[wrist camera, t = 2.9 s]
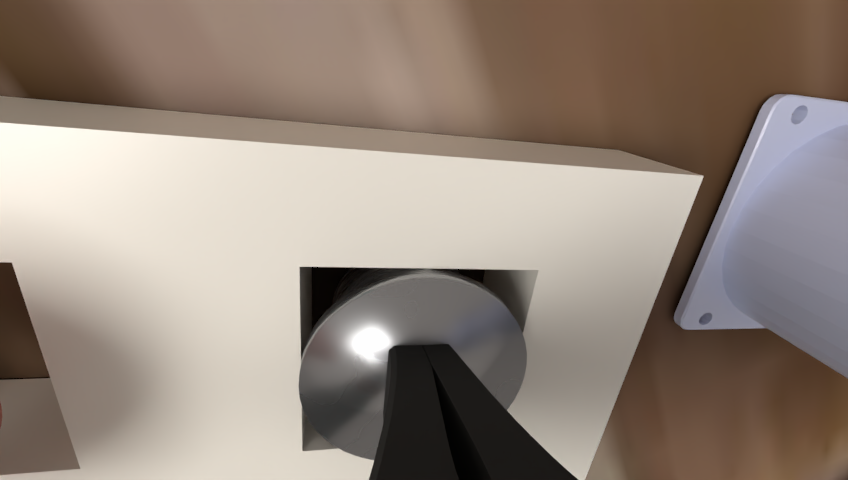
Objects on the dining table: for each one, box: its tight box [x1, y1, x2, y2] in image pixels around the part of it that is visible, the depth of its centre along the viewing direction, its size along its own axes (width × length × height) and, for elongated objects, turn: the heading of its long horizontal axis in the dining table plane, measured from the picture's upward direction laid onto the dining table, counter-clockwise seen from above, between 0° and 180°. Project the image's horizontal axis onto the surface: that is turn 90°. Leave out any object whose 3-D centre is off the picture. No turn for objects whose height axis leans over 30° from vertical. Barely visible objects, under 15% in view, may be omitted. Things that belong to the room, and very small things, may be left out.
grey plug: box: [299, 267, 527, 460], centre depth 10 cm, size 5×5×3 cm
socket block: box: [0, 96, 704, 480], centre depth 10 cm, size 22×10×3 cm, turn 83°
